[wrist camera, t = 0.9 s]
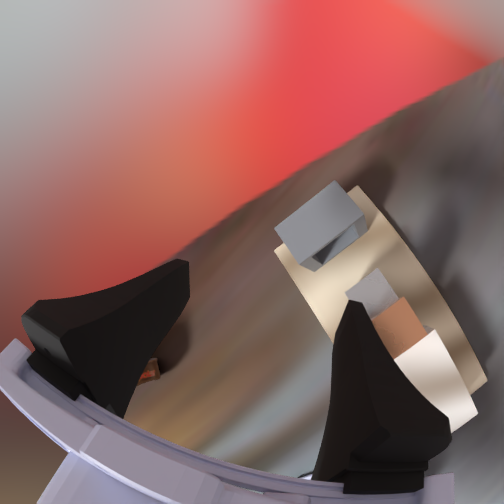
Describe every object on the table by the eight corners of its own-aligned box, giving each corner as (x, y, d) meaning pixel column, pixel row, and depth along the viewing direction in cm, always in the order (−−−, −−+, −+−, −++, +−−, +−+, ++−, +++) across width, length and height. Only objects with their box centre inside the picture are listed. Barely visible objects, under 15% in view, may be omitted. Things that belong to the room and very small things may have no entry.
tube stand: (485, 379, 15) (506, 395, 11) (394, 441, 18) (394, 471, 13) (358, 187, 24) (350, 160, 20) (276, 251, 27) (251, 239, 22)
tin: (170, 355, 31) (114, 362, 23) (176, 380, 30) (120, 392, 22) (104, 362, 36) (59, 365, 29) (108, 382, 35) (63, 387, 28)
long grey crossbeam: (457, 404, 15) (481, 441, 9) (427, 424, 16) (439, 468, 9) (378, 272, 21) (376, 257, 14) (349, 294, 22) (333, 289, 15)
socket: (367, 231, 23) (364, 213, 19) (314, 272, 24) (298, 264, 20) (344, 201, 24) (334, 179, 20) (293, 241, 26) (274, 228, 22)
